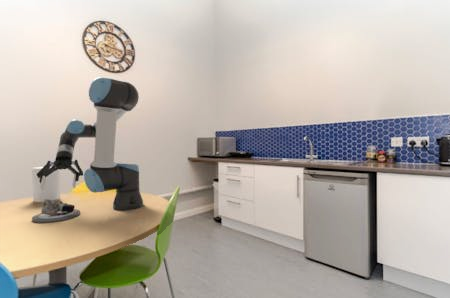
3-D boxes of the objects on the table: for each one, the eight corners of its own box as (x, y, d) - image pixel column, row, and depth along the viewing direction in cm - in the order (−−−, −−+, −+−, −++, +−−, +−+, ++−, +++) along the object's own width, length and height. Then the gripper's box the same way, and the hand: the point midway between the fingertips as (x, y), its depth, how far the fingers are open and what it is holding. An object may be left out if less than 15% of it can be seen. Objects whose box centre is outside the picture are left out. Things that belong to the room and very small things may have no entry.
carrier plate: (88, 211, 130) (88, 208, 130) (60, 223, 111) (60, 220, 111) (54, 210, 132) (54, 208, 132) (20, 222, 114) (20, 219, 114)
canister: (65, 197, 164) (64, 166, 164) (46, 202, 151) (44, 168, 150) (48, 196, 167) (46, 166, 167) (27, 201, 154) (26, 168, 154)
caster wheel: (75, 214, 129) (66, 217, 119) (50, 211, 127) (40, 213, 117) (78, 201, 130) (70, 202, 120) (54, 197, 128) (44, 199, 118)
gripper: (91, 158, 147) (87, 189, 133) (39, 160, 139) (30, 193, 125) (89, 149, 142) (85, 180, 128) (35, 151, 134) (25, 184, 120)
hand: (58, 187), depth 126 cm, fingers open, 13 cm apart
